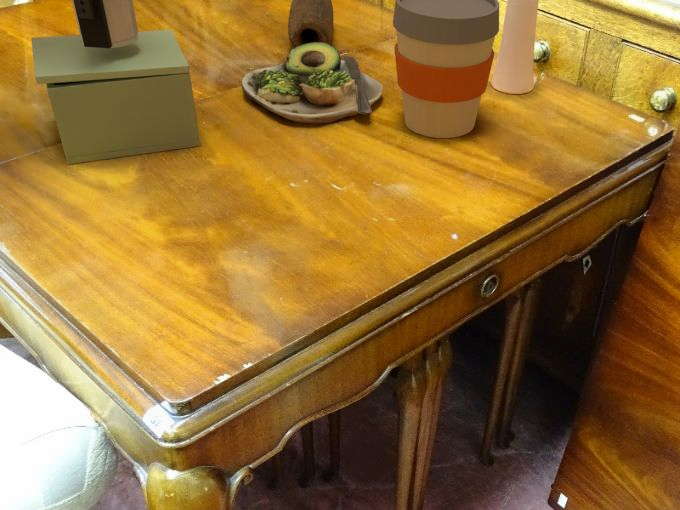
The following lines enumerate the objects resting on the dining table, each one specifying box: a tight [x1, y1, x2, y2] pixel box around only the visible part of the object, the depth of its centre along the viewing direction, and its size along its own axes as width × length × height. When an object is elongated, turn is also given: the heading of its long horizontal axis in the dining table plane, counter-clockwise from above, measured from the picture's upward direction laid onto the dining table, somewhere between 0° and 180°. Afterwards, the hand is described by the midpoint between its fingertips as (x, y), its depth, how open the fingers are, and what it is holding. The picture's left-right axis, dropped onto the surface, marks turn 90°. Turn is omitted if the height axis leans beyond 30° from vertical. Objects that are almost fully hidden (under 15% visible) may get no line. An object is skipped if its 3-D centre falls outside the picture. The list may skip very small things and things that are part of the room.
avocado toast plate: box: [241, 42, 384, 125], centre depth 101 cm, size 19×18×5 cm
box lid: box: [30, 29, 191, 85], centre depth 86 cm, size 15×12×1 cm
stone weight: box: [287, 0, 334, 49], centre depth 116 cm, size 15×7×7 cm, turn 9°
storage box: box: [46, 72, 202, 165], centre depth 89 cm, size 15×12×9 cm
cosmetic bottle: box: [490, 0, 539, 95], centre depth 102 cm, size 6×6×22 cm
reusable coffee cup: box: [392, 0, 500, 139], centre depth 94 cm, size 12×12×15 cm
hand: (109, 34), depth 85 cm, fingers closed on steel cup, 6 cm apart
